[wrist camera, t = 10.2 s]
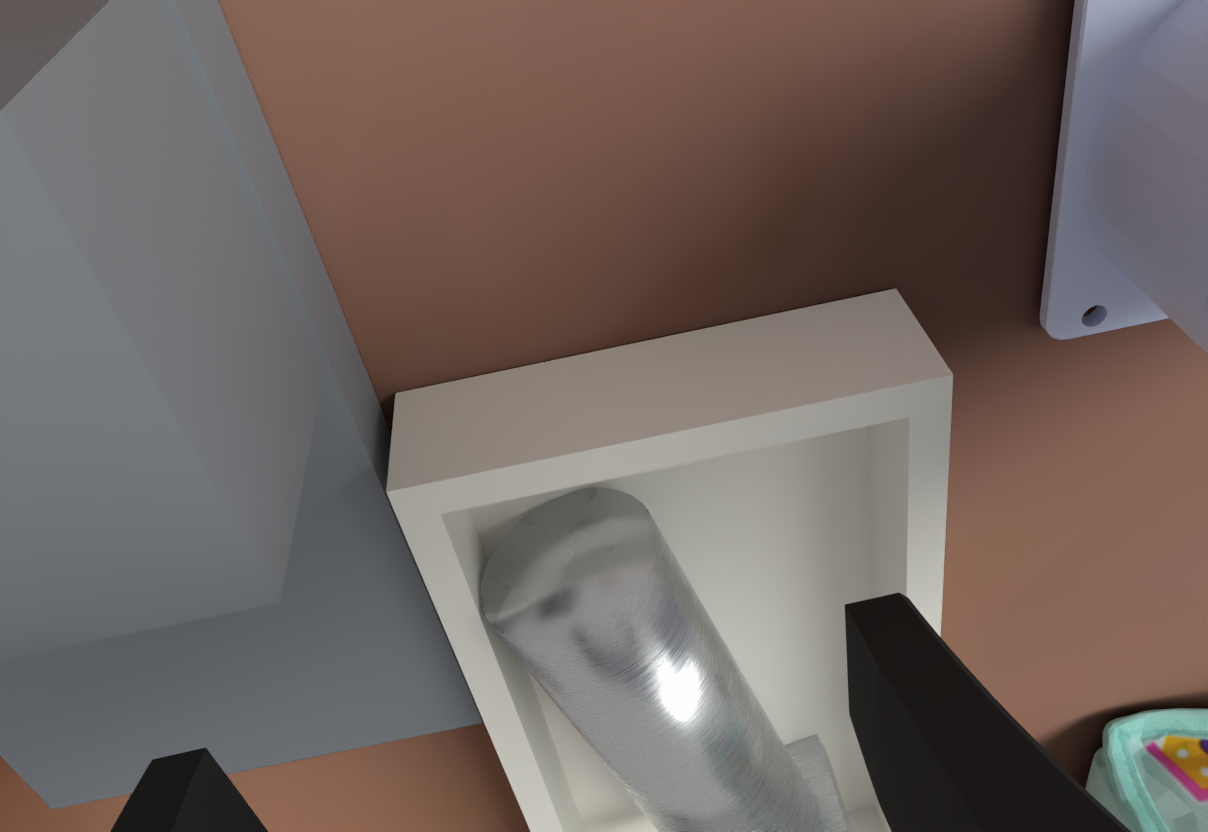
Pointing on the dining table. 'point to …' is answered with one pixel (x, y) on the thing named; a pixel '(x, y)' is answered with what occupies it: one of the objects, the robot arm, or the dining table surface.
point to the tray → (696, 513)
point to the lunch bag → (1154, 770)
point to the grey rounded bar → (649, 672)
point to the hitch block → (183, 429)
